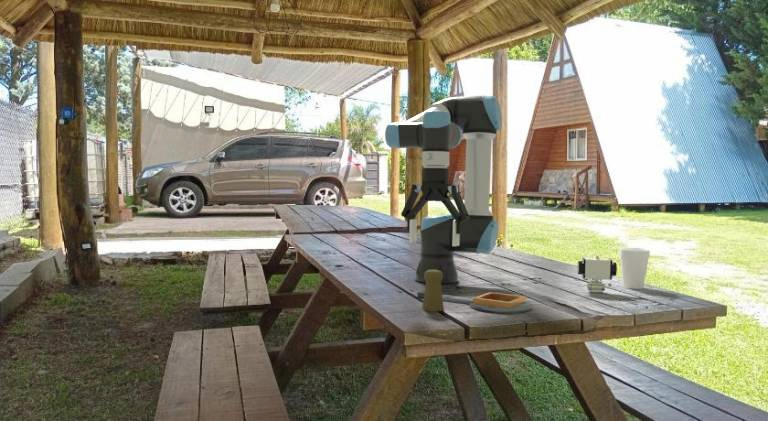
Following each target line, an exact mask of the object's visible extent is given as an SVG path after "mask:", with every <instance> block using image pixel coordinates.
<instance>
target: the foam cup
mask: <svg viewBox="0 0 768 421" xmlns="http://www.w3.org/2000/svg"><path fill="white" fill-rule="evenodd" d="M650 254H651V250H650V249H648V248H642V247H641V248H640V247H639V248H638V247H620V248H619V256H620V257H619V258H620V267H621V268H620V269H621V276H622V277H621V278H622V284H623V285H622V287H623V288H625V287H626V289H629V290H630V289H631V290H632V289H634V290H641V289H644V286H645V280H646V274H647V269H648V264H649V258H650Z"/></svg>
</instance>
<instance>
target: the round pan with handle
mask: <svg viewBox="0 0 768 421" xmlns="http://www.w3.org/2000/svg"><path fill="white" fill-rule="evenodd" d="M424 293H425V289H424V290H420V291H417V296H416V297H417V298H421V299H424ZM442 298H443V302H450V303H459V304H466V305H469V307H470V308H471V309H473V310H475V311H479V312H483V313H490V314H500V315H501V314H502V315H503V314H504V315H507V314H509V315H510V314H512V315H513V314H523V313H527V312H529V311H531V304H530V303H531V302H528V301H527V296H523V295H517V294H516V295H515V294H507V293H500V292H493V291H492V292H491V291H489V292H486V293H483V294H481V295H477V296H475V297H472V298H471V297H470V298H469V297H463V296H457V295H456V296H455V295H449V294H448V295H447V294H442Z"/></svg>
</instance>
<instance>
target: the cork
mask: <svg viewBox="0 0 768 421" xmlns="http://www.w3.org/2000/svg"><path fill="white" fill-rule="evenodd" d="M424 278H425V281H426V283H425V285H424V286H425V288H424V290H425V293H424V298H423V301H422V310H423V311H425V312H442V311H445V310H444V309H445V308H444V301H443V298H442V295H443V290H442V284H441V281H442V279H443V274H442V272H441V271H439V270H427V271H426V272H425V274H424Z"/></svg>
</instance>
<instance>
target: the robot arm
mask: <svg viewBox="0 0 768 421" xmlns="http://www.w3.org/2000/svg"><path fill="white" fill-rule="evenodd" d="M501 108H502V107H501V104H500V102H499V100H498V98H497V97H496V96H494V95H484V94H483V95H472V96H469V95H468V96H453V97H448V98H444V99H442V100H439V101H437V102H434V103H432V104H430V105H428V106H427V108H426V109H425V110H424V111H423V112H421V113H419V114H417V115H415V116H413V117H411V118H409V119H407V120H405V121H403V122H398V121H396V122H390V123H388V124H387V126H386V127H385V132H384V138H385V142H386V145H387V146H388V147H389V148H393V149H394V148H395V149H409V148H410V149H416V148H418V149H420V148H422V150H421V152H422V153H421V155H422V156H421V158H422V159H421V166H422V167H423V168H422V169H421V185H420V184H416V183H415V184H412V185H411V190H410V193H409V196H408V198H407V199H406V203H405V205H404V207H403V209H402V212H401V214H400V215H401V217H404V218H406V220H407V226H406V230H407V231H409V235H408V236H409V237H408V238H409V241H408V242H409V243H410V244H412V243H417V239H418V238H417V236H418V234H417V233H418V229H417V227H418V226H417V225H418V219H417V218H416V217H417V215H418V214H419V213H420V211H421V210H422V209H423V207H425V205H426V204H427V202H441V203H442V204H443V205H444V207H445V208H446V209H447V210H448V212H449V214H441V215H433V216H432V215H431V216H425V217H423V218H422V219H421V225H420V230H419V231H420V259H419V262H418V265H417V268H416V269H415V273H414V275H415V276H414V277H415V278H414V280H415V281H417V282H420V283H425V284H426V281H425V278H424V274H425V272H426V271H427V270H439V271H441V272H442V274H443V279H442V281H441V285H442V284H452V283H453V284H454V283H457V282H458V281H459V273H458V270H457V267H456V264H455V260H454V254H455V253H466V254H477V255H480V254H481V255H482V254H490V253H492V251H493V250H494V249H495V247H496V244H497V240H498V235H499V234H498V233H499V222H498V220H496V219H494V214H493V212H492V211H491V210H490V198H491V197H490V196H491V173H492V172H491V171H492V170H491V168H492V166H491V165H492V143H493V142H492V141H493V139H495V138H496V137H497V131H500V130H501V129H502V127H503V126H502V125H503V114H502V109H501ZM463 138H465V140H466V143H465V144H466V145H465V147H466V148H465V150H466V151H465V170H464V172H465V176H464V200H463V198H462V196H461V193H460V186H459V185H456V184H453V185H451V186H450V185H449V182H450V169H449V168H448V167H450V149H454V148H456V147H458V146H459V145H460V144H461V142H462V141H463ZM420 192H421V193H422V195H421V196H420V197H419V194H420ZM448 193H450V194H451V195H452V198H453V201H454V203H455V204H454V203H453V201H452V200H451V198H450V197H449V195H448ZM418 197H419V200H418V201H417V198H418ZM416 201H417V202H416ZM455 205H456V206H455Z"/></svg>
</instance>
